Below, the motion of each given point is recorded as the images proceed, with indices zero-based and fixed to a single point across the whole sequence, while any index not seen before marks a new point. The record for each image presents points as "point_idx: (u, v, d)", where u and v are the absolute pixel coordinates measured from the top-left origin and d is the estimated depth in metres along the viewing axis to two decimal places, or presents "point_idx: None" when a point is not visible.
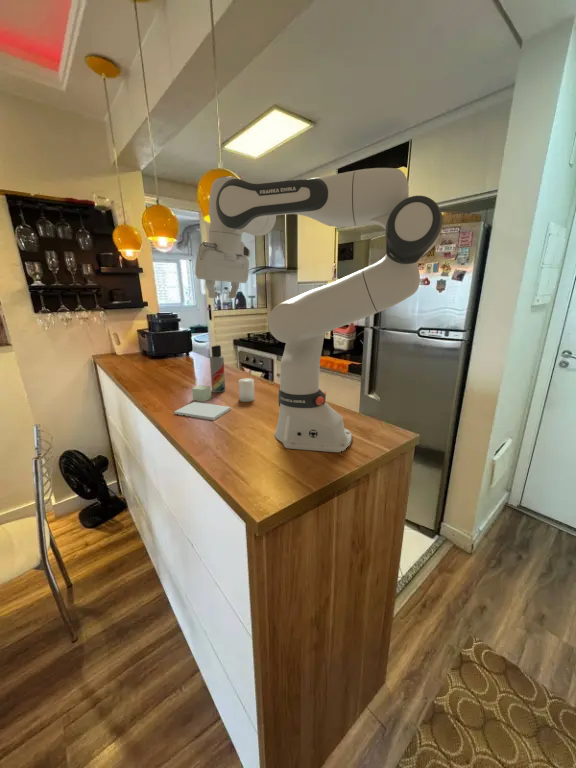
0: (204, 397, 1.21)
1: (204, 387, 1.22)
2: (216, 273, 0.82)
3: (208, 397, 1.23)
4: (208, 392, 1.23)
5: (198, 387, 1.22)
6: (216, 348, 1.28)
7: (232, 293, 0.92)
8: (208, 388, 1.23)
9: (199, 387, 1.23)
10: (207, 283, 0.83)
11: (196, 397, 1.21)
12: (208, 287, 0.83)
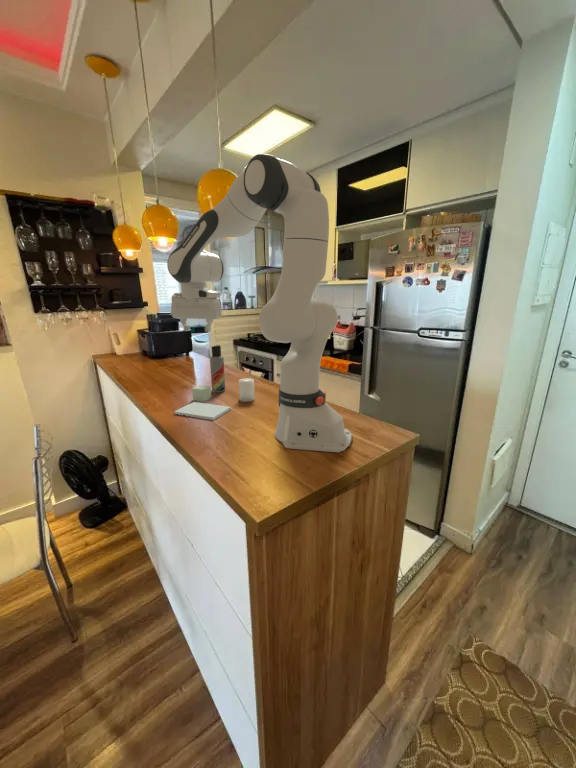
0: (204, 397, 1.21)
1: (204, 387, 1.22)
2: (180, 313, 1.15)
3: (208, 397, 1.23)
4: (208, 392, 1.23)
5: (198, 387, 1.22)
6: (216, 348, 1.28)
7: None
8: (208, 388, 1.23)
9: (199, 387, 1.23)
10: None
11: (196, 397, 1.21)
12: None
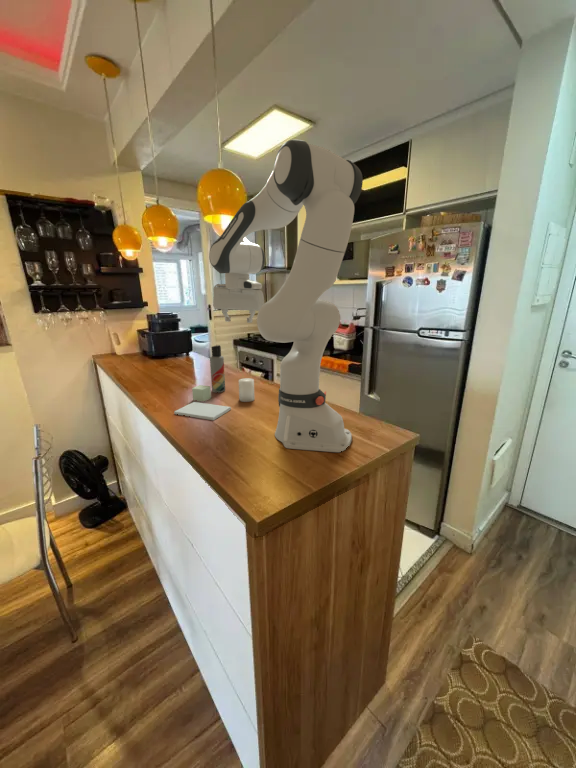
0: (204, 397, 1.21)
1: (204, 387, 1.22)
2: (222, 304, 1.16)
3: (208, 397, 1.23)
4: (208, 392, 1.23)
5: (198, 387, 1.22)
6: (216, 348, 1.28)
7: None
8: (208, 388, 1.23)
9: (199, 387, 1.23)
10: None
11: (196, 397, 1.21)
12: None
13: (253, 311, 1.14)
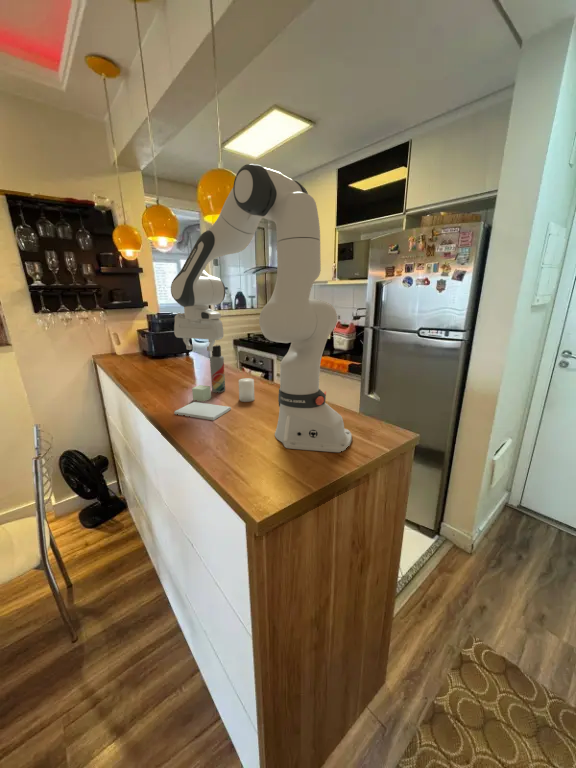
0: (204, 397, 1.21)
1: (204, 387, 1.22)
2: (183, 333, 1.17)
3: (208, 397, 1.23)
4: (208, 392, 1.23)
5: (198, 387, 1.22)
6: (216, 348, 1.28)
7: None
8: (208, 388, 1.23)
9: (199, 387, 1.23)
10: None
11: (196, 397, 1.21)
12: None
13: (212, 340, 1.15)
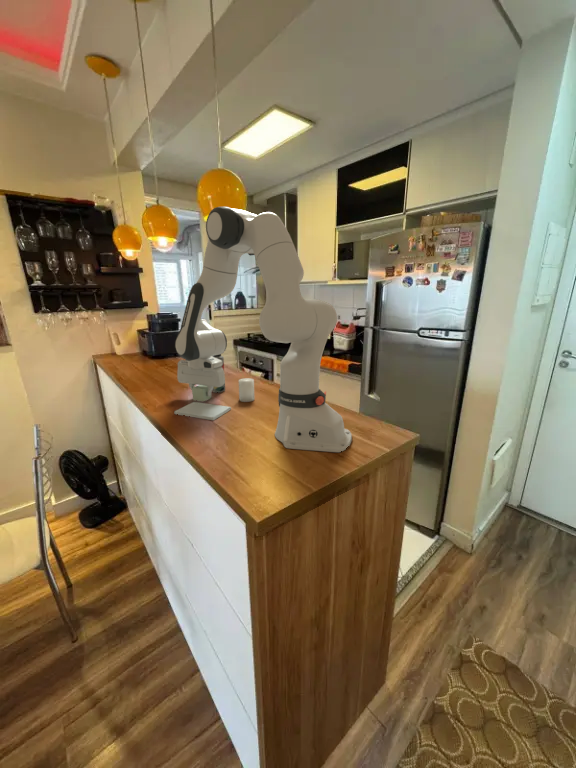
0: (204, 397, 1.21)
1: (204, 387, 1.22)
2: (186, 379, 1.22)
3: (208, 397, 1.23)
4: None
5: (198, 387, 1.22)
6: None
7: None
8: (208, 388, 1.23)
9: (199, 386, 1.22)
10: None
11: (196, 397, 1.21)
12: None
13: (211, 386, 1.20)
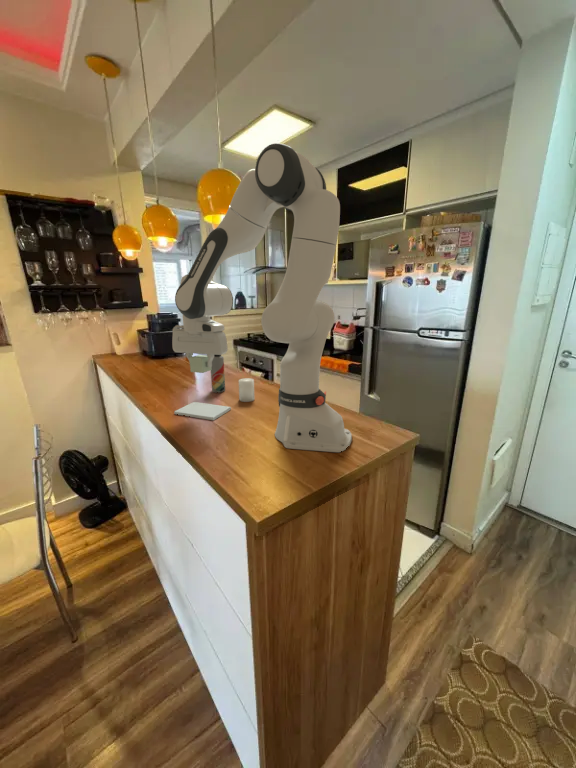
0: (203, 367, 1.03)
1: (203, 356, 1.05)
2: (182, 347, 1.05)
3: (208, 368, 1.06)
4: None
5: (196, 356, 1.05)
6: None
7: None
8: None
9: (198, 356, 1.05)
10: None
11: (194, 368, 1.04)
12: None
13: (211, 355, 1.03)
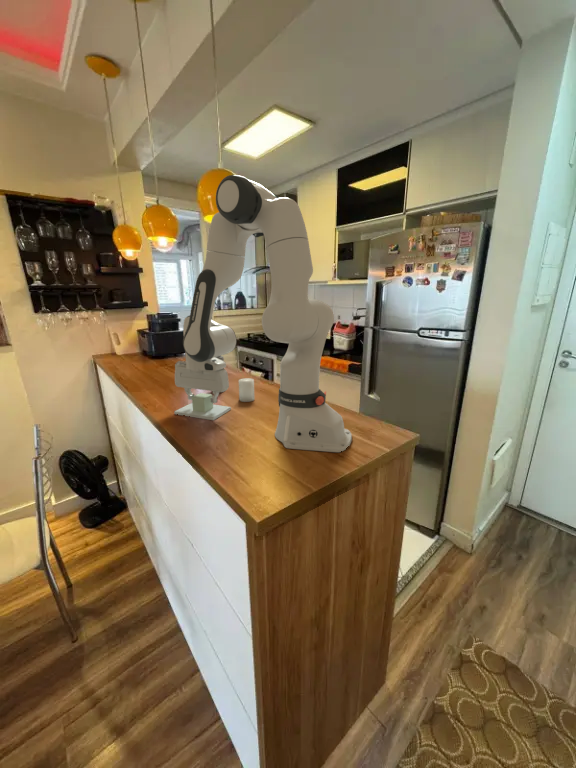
0: (205, 407, 1.07)
1: (205, 396, 1.08)
2: (184, 383, 1.07)
3: (210, 407, 1.09)
4: (210, 401, 1.09)
5: (198, 396, 1.08)
6: None
7: None
8: (210, 397, 1.09)
9: (200, 395, 1.08)
10: None
11: (196, 407, 1.07)
12: None
13: (217, 391, 1.05)
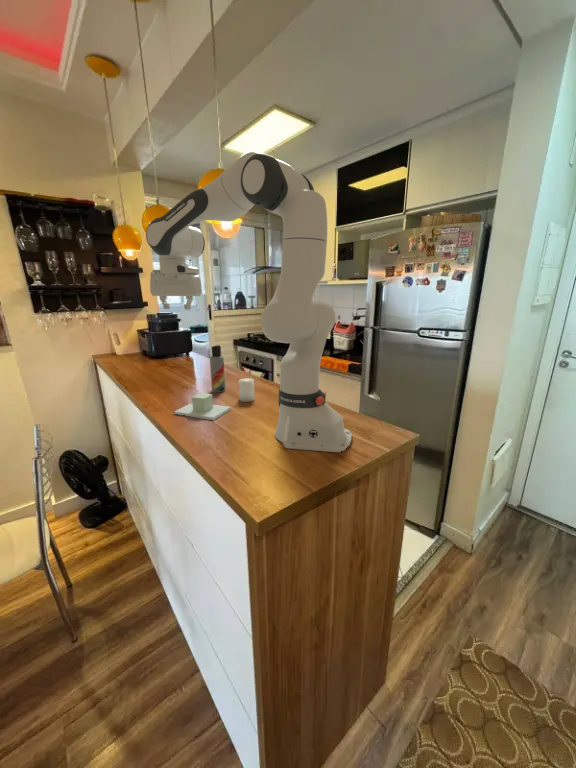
0: (205, 407, 1.07)
1: (205, 396, 1.08)
2: (159, 290, 1.11)
3: (210, 407, 1.09)
4: (210, 401, 1.09)
5: (198, 396, 1.08)
6: (216, 348, 1.28)
7: None
8: (210, 397, 1.09)
9: (200, 395, 1.08)
10: None
11: (196, 407, 1.07)
12: None
13: (190, 297, 1.09)
